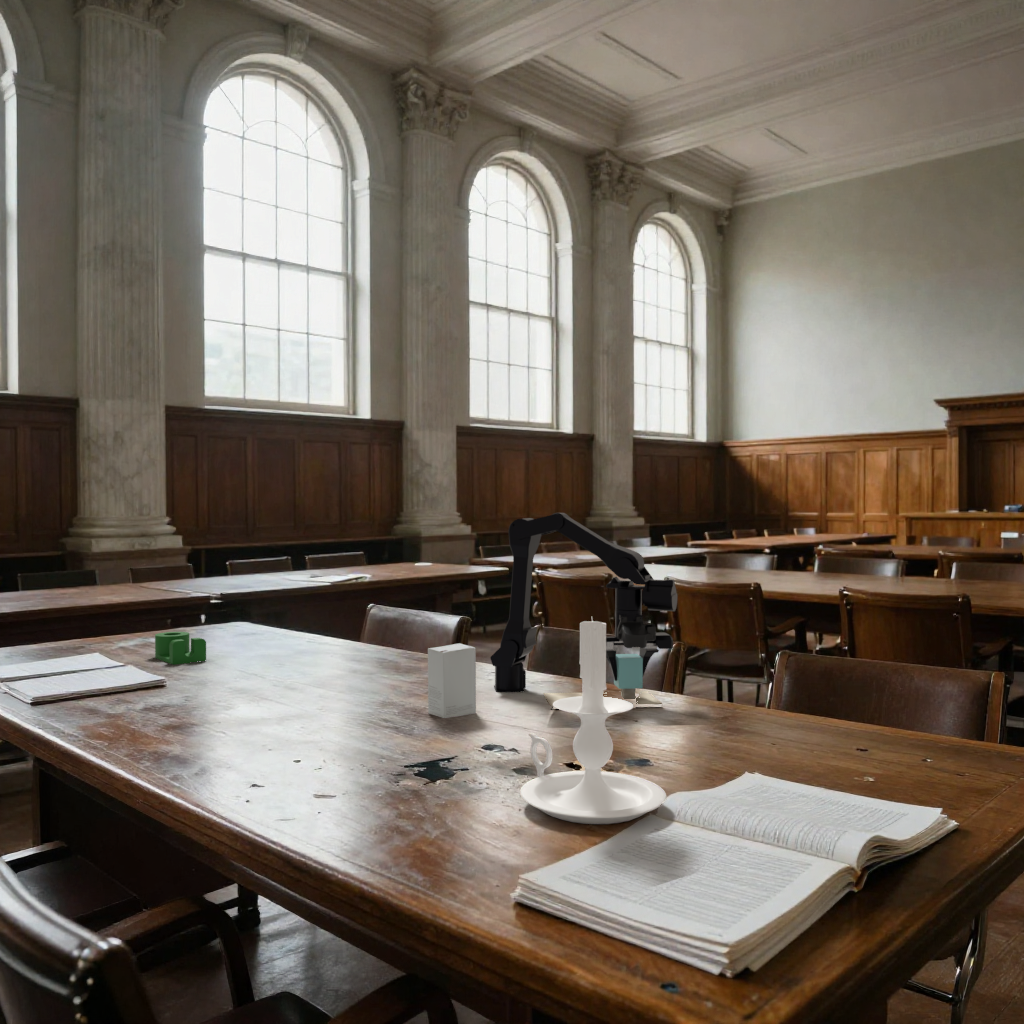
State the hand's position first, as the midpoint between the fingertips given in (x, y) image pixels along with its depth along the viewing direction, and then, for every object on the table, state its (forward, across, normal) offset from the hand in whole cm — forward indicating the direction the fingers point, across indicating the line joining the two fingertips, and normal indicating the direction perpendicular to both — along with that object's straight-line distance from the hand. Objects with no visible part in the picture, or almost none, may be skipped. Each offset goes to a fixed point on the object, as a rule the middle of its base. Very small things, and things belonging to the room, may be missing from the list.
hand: (628, 680), depth 203 cm
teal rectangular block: (+1, 0, 0) cm, 1 cm away
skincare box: (+5, -39, -13) cm, 41 cm away
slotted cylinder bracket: (+6, -112, +65) cm, 129 cm away
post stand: (+5, -6, 0) cm, 8 cm away
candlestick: (+5, -22, -68) cm, 72 cm away
